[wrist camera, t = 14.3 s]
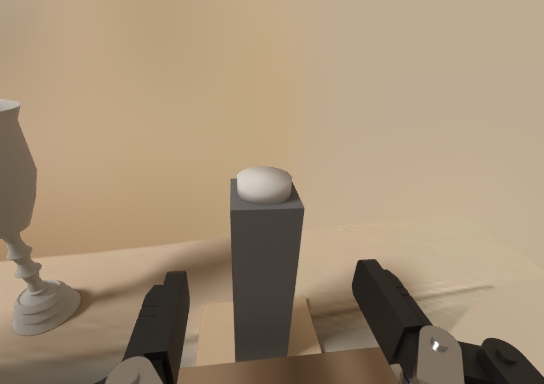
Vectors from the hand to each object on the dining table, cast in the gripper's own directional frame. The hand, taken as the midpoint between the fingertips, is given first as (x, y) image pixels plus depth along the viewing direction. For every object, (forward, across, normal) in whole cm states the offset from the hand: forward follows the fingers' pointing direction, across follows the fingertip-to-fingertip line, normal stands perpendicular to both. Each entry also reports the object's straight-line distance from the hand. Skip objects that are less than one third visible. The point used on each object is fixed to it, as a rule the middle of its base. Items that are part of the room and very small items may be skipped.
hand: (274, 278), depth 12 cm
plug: (+5, 0, +12) cm, 13 cm away
